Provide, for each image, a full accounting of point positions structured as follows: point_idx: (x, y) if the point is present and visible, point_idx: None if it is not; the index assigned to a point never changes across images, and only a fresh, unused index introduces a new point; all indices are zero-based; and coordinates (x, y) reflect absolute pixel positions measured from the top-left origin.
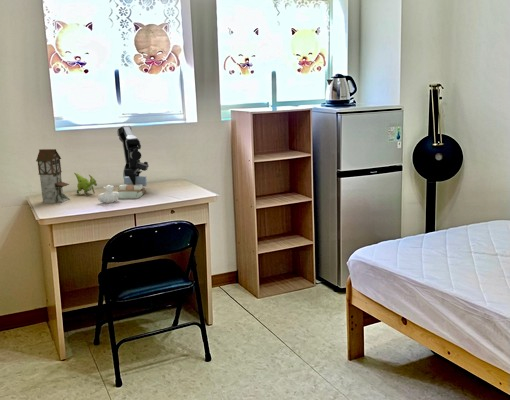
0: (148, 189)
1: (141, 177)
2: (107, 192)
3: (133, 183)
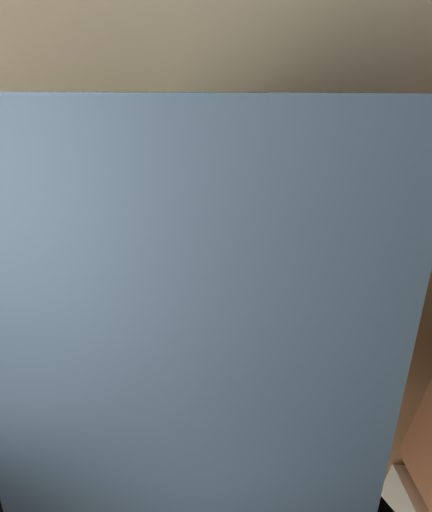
0: None
1: (389, 386)
2: None
3: None
